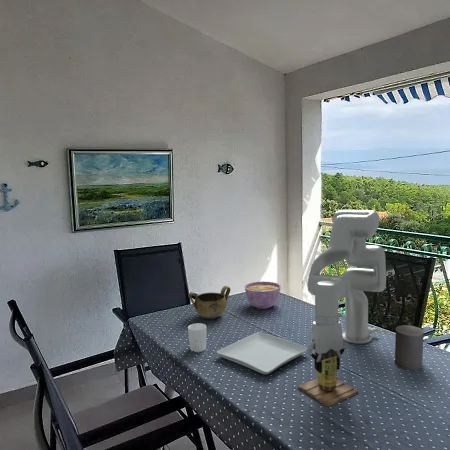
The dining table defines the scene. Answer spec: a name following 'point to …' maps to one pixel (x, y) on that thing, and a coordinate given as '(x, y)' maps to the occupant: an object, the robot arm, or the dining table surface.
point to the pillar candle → (409, 347)
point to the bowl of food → (262, 294)
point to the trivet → (328, 392)
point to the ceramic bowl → (210, 303)
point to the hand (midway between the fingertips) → (327, 369)
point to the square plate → (262, 352)
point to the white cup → (197, 337)
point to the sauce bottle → (328, 371)
